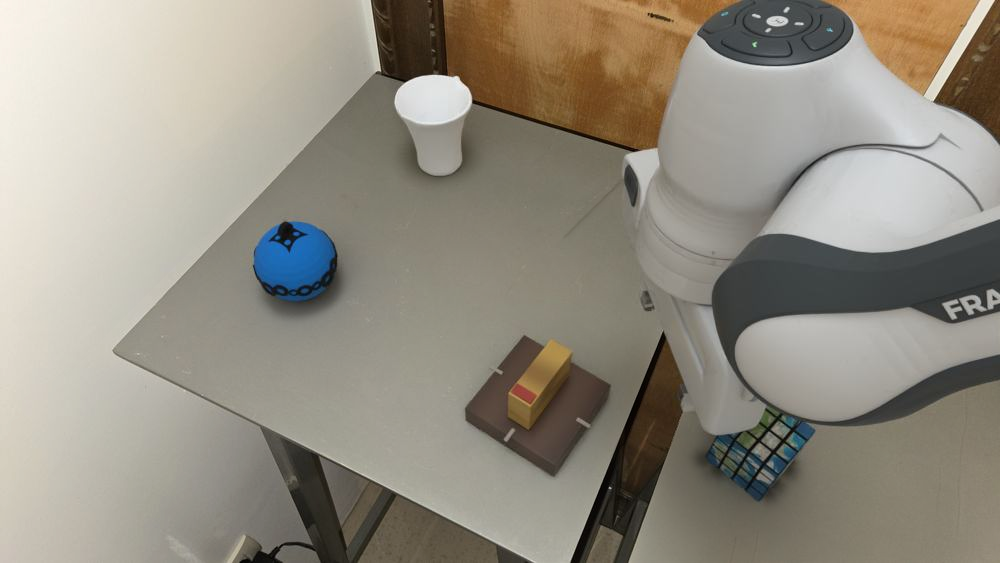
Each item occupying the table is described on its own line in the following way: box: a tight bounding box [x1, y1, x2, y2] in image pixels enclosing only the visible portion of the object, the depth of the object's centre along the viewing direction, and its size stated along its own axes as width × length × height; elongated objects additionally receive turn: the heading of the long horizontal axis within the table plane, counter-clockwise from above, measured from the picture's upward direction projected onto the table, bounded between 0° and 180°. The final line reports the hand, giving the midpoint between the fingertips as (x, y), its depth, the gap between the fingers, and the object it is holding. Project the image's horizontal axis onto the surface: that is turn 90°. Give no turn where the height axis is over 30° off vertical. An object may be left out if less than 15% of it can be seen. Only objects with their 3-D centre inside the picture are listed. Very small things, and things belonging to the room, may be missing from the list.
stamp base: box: [464, 334, 612, 477], centre depth 72 cm, size 11×11×3 cm
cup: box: [393, 74, 473, 177], centre depth 90 cm, size 9×9×10 cm
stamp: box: [508, 338, 573, 430], centre depth 69 cm, size 7×2×5 cm, turn 145°
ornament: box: [252, 220, 339, 302], centre depth 78 cm, size 9×9×10 cm
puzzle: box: [705, 405, 816, 502], centre depth 68 cm, size 6×6×6 cm
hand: (669, 350), depth 60 cm, fingers open, 8 cm apart
